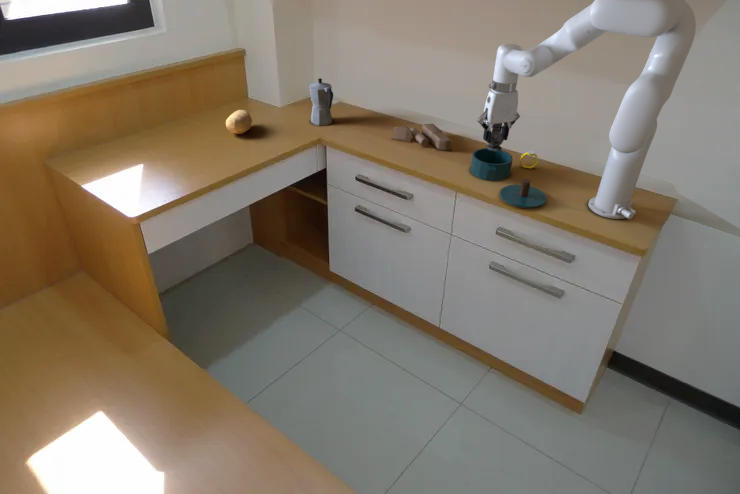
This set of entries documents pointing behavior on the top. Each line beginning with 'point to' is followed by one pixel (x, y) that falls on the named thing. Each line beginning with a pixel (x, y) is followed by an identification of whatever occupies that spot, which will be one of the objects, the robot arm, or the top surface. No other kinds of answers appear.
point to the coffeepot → (321, 103)
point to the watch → (531, 155)
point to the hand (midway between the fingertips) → (495, 139)
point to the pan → (491, 164)
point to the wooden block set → (423, 136)
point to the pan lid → (523, 195)
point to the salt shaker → (495, 138)
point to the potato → (239, 122)
